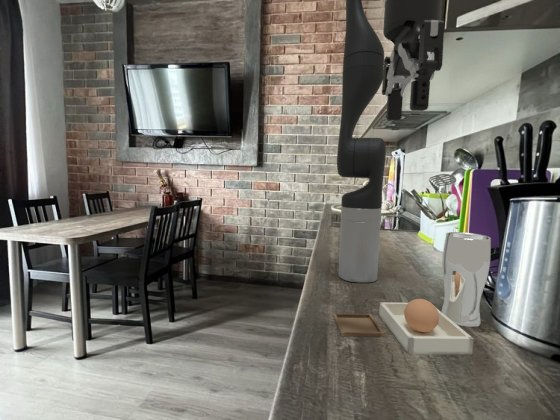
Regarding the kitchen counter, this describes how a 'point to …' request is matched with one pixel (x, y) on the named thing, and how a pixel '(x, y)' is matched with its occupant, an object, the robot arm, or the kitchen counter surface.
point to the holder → (358, 325)
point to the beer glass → (465, 276)
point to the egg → (421, 315)
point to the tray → (426, 333)
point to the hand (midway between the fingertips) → (405, 115)
